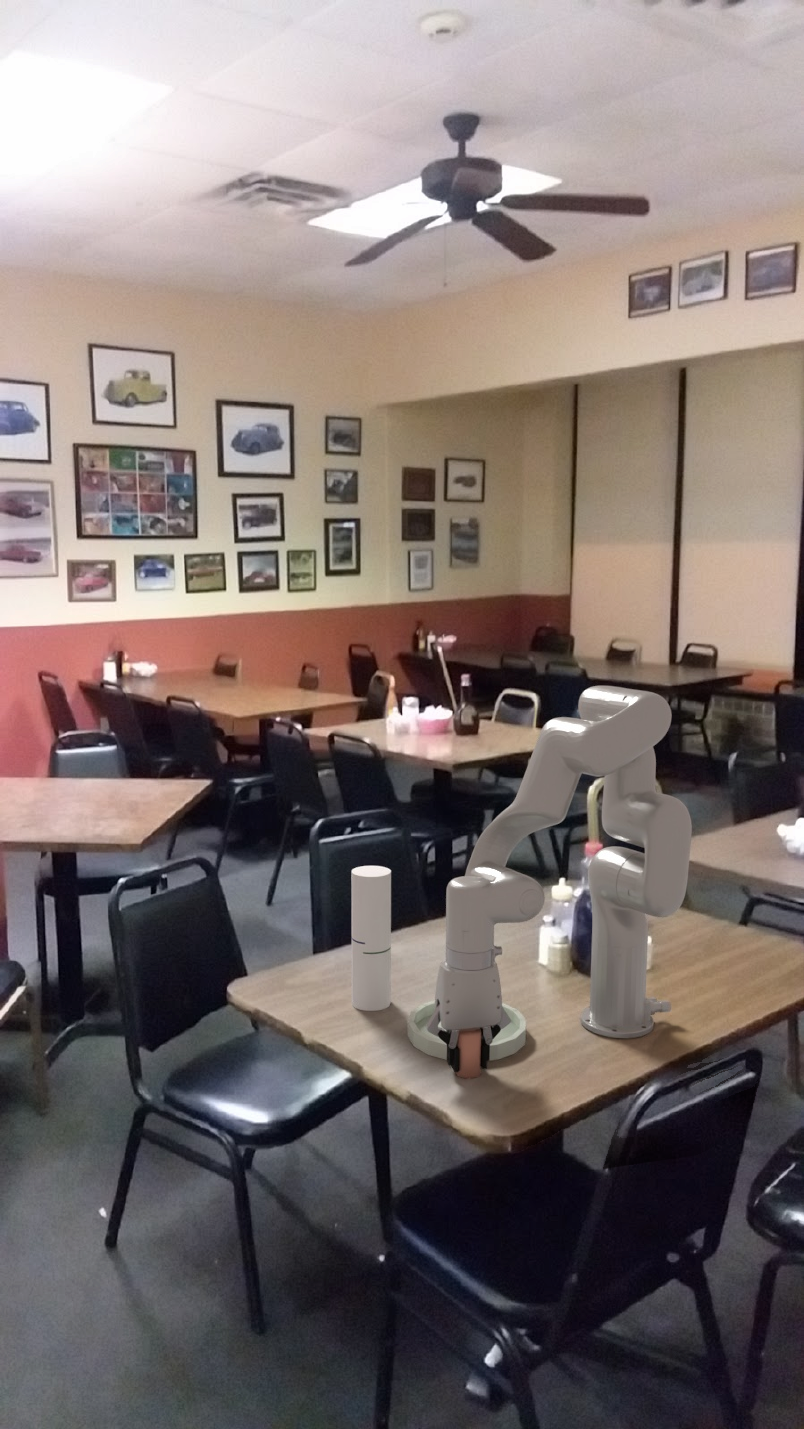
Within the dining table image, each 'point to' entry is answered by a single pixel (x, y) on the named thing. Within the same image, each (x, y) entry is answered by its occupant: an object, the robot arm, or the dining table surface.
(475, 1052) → the orange cylinder
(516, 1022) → the groove tray
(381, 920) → the cylindrical container
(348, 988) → the dining table surface
